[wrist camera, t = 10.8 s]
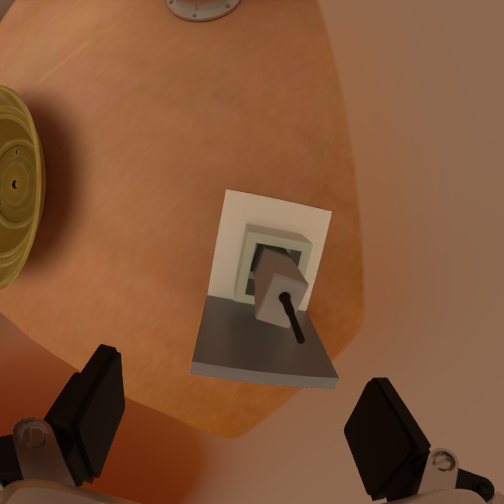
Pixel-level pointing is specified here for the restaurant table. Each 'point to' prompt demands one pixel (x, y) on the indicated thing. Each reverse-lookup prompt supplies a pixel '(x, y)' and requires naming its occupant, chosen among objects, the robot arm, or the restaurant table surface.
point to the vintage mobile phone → (278, 288)
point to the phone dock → (243, 303)
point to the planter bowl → (29, 184)
